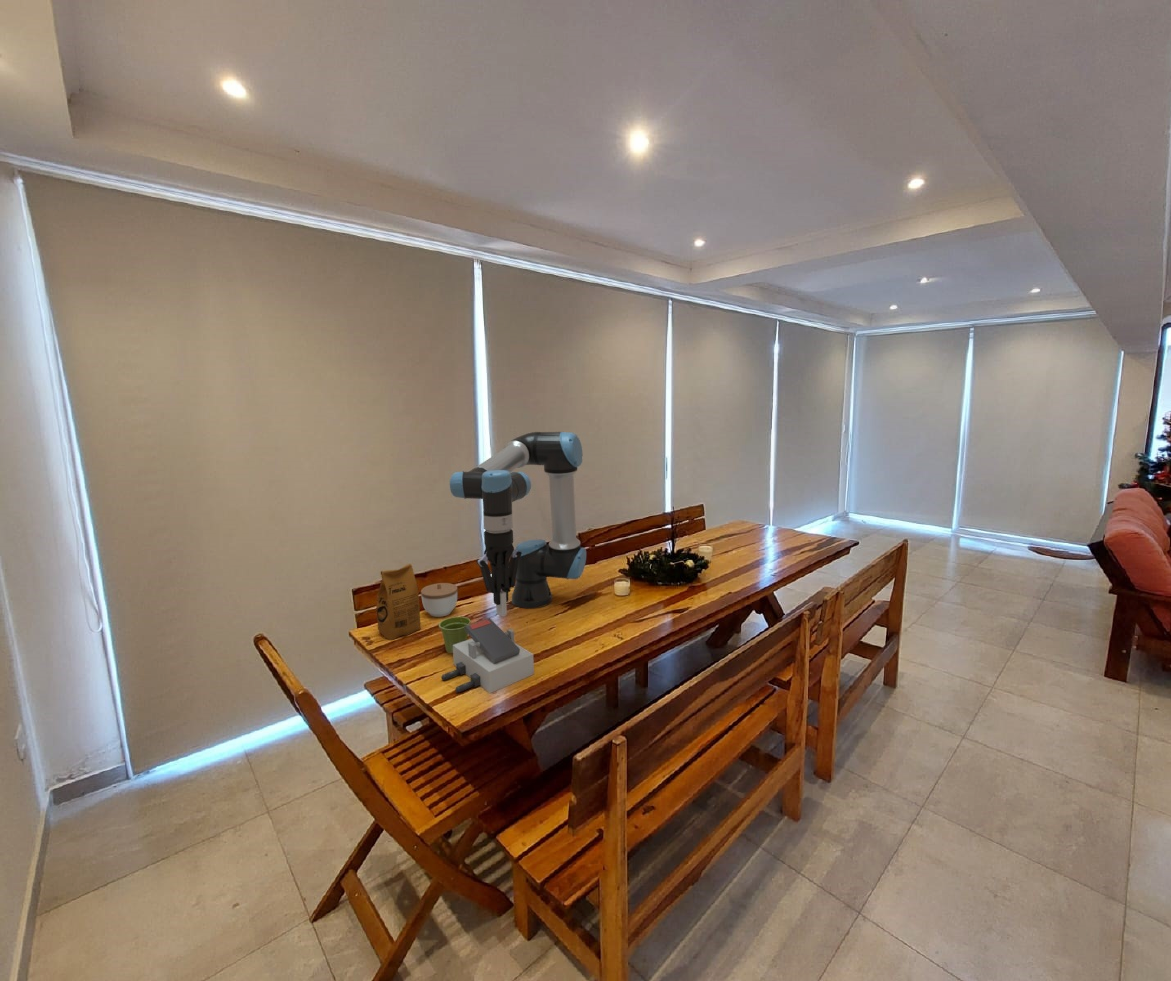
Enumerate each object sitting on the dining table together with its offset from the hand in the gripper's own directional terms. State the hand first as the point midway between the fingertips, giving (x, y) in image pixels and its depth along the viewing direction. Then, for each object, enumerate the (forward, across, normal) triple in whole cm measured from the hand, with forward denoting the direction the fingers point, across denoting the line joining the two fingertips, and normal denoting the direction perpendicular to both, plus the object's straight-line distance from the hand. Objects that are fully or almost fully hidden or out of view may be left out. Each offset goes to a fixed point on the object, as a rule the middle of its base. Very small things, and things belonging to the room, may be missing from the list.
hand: (501, 614), depth 137 cm
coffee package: (+18, -10, +48) cm, 52 cm away
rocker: (+9, 0, +5) cm, 11 cm away
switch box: (+18, -4, +5) cm, 19 cm away
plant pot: (+18, -2, +23) cm, 30 cm away
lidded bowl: (+19, +7, +52) cm, 56 cm away
